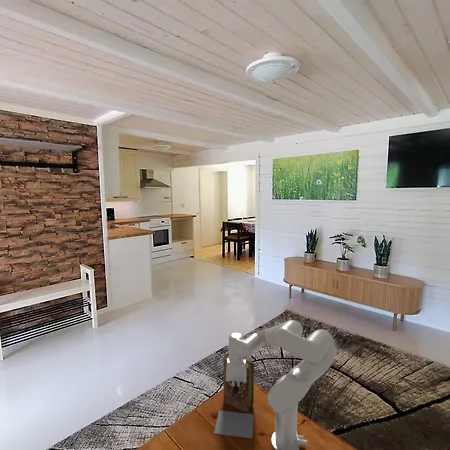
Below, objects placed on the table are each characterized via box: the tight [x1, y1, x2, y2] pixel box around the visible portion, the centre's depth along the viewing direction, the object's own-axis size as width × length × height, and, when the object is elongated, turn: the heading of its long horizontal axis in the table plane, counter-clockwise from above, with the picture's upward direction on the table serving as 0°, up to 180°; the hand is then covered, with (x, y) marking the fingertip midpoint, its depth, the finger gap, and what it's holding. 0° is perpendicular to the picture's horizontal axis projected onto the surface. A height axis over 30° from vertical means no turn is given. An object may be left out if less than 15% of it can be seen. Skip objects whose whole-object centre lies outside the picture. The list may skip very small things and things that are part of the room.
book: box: [223, 353, 255, 414], centre depth 150 cm, size 16×6×25 cm, turn 58°
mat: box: [213, 409, 255, 439], centre depth 138 cm, size 18×14×1 cm
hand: (236, 392), depth 141 cm, fingers closed
